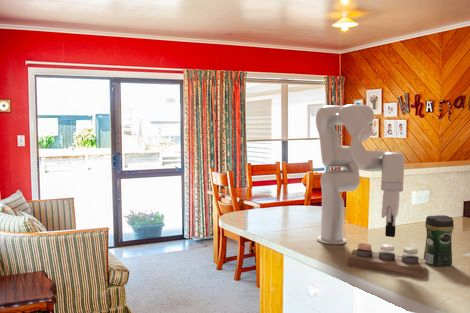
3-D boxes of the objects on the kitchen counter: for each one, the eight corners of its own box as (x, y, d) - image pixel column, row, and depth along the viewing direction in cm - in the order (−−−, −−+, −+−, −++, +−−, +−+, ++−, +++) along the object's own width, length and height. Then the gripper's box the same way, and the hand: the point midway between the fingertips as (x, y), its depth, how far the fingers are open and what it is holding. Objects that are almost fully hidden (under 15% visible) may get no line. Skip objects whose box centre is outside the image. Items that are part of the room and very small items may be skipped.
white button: (381, 246, 166) (381, 243, 166) (394, 248, 164) (394, 245, 164) (379, 249, 162) (379, 246, 162) (393, 251, 160) (393, 248, 160)
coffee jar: (441, 259, 173) (444, 213, 171) (455, 266, 165) (458, 217, 164) (419, 261, 171) (422, 213, 169) (432, 267, 163) (435, 218, 162)
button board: (353, 256, 174) (353, 244, 174) (425, 267, 163) (425, 254, 163) (347, 265, 164) (348, 252, 163) (423, 277, 153) (424, 263, 152)
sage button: (403, 249, 163) (404, 246, 163) (417, 251, 161) (418, 248, 161) (402, 253, 158) (402, 249, 158) (417, 255, 156) (417, 251, 156)
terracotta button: (359, 245, 170) (359, 242, 169) (372, 247, 168) (372, 244, 167) (357, 249, 165) (357, 245, 165) (370, 250, 163) (370, 247, 163)
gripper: (384, 183, 169) (382, 230, 170) (378, 188, 156) (376, 239, 157) (405, 184, 166) (403, 233, 167) (400, 189, 152) (398, 242, 153)
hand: (390, 236), depth 162 cm, fingers closed
